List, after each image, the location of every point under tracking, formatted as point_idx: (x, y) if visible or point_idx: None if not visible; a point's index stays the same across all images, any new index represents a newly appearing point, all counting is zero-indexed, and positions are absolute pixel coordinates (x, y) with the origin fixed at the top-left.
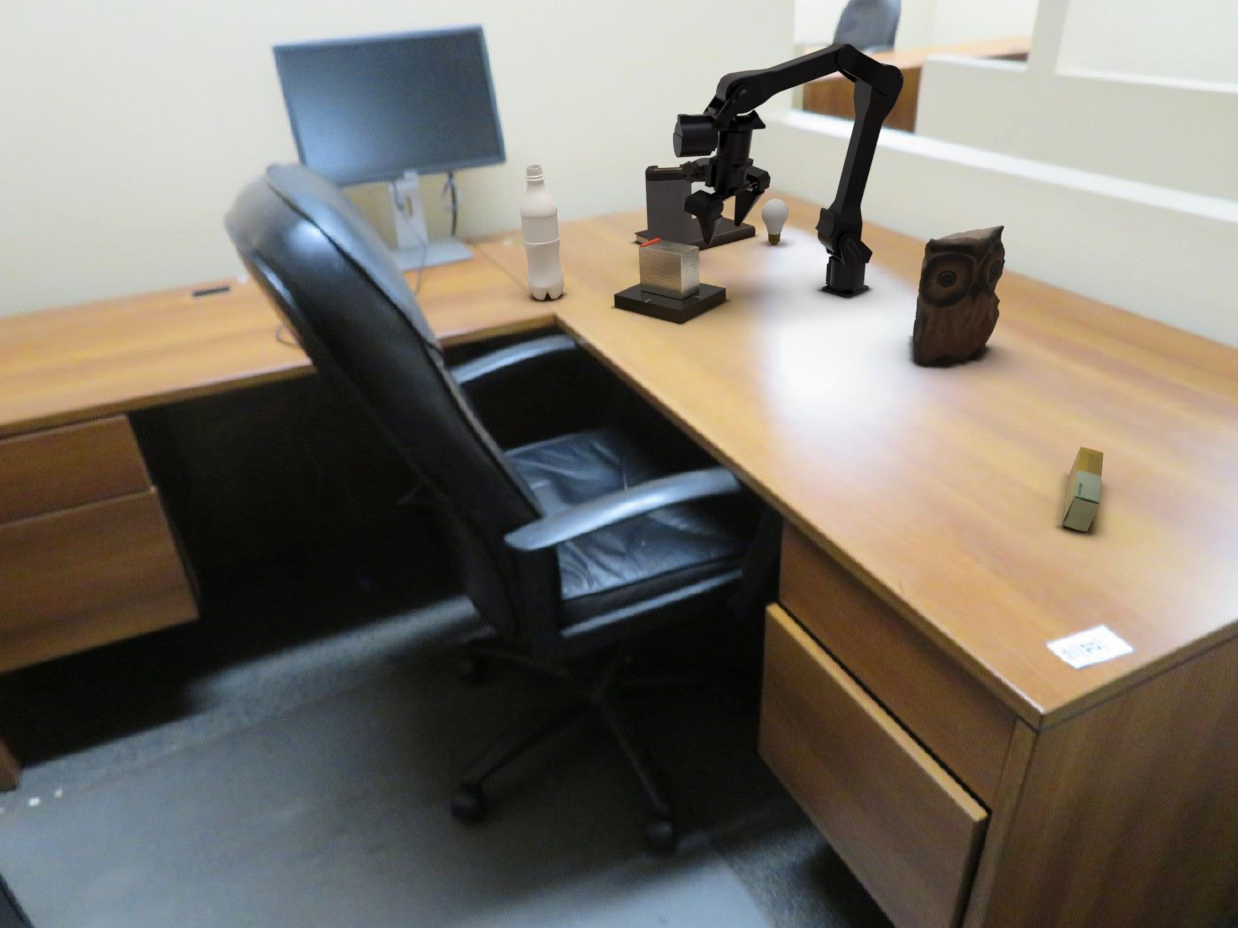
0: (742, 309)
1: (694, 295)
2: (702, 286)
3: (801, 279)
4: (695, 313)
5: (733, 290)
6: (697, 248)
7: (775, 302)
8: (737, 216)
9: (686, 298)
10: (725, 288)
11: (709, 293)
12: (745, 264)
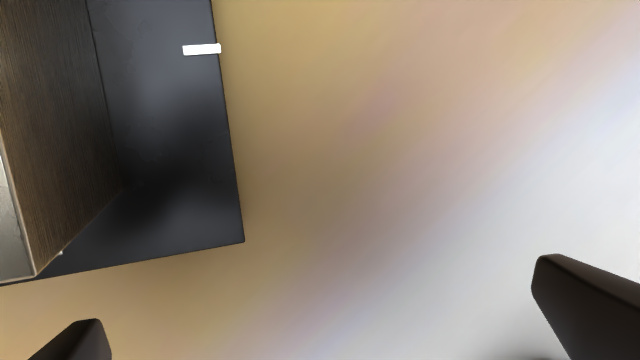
0: (213, 330)
1: None
2: (189, 147)
3: None
4: None
5: (345, 165)
6: (11, 279)
7: (338, 354)
8: (608, 334)
9: None
10: (241, 242)
11: (139, 241)
12: (581, 4)
